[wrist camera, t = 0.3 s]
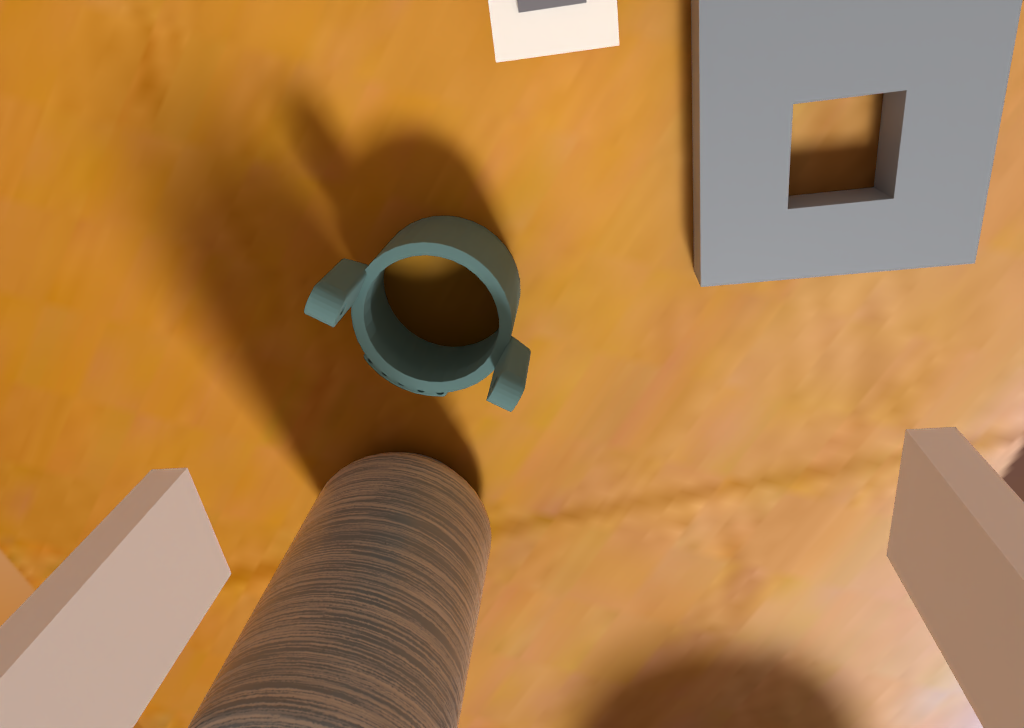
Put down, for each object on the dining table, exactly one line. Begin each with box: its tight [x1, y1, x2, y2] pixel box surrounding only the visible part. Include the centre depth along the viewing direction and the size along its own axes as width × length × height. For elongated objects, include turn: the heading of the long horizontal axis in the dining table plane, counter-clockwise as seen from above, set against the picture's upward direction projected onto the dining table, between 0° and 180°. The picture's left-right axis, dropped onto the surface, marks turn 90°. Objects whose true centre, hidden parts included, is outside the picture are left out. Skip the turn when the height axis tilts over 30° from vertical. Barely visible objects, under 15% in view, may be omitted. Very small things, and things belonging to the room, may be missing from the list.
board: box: [691, 0, 1022, 287], centre depth 30 cm, size 24×13×2 cm, turn 7°
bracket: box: [304, 216, 531, 412], centre depth 35 cm, size 9×9×9 cm
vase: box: [188, 452, 491, 728], centre depth 36 cm, size 12×12×23 cm
